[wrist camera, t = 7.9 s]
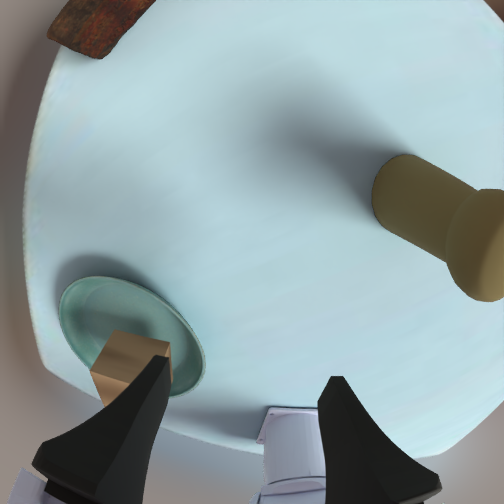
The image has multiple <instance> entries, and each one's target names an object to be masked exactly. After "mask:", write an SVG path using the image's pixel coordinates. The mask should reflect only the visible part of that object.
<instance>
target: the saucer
mask: <svg viewBox="0 0 504 504" xmlns="http://www.w3.org/2000/svg"><path fill="white" fill-rule="evenodd" d="M59 320H60V325H61V328H62V331H63V334H64V336H65V338H66V340H67V342H68V344H69V346H70V347H71V349H72V350H73V352H74V353H75V354H76V356H77V357H78V358H79V359H80V360H81V361H82V362H83V363H84V364H85V366H87V367H88V368H89V369H91V367H92V366H93V364H94V362H95V360H96V359H97V357H98V355H99V354H100V352H101V350H102V349H103V347H104V345H105V344H106V342H107V341H108V339H109V337H110V336H111V334H112V333H113V331H114V329H116V330H120V331H124V332H128V333H132V334H136V335H140V336H144V337H149V338H153V339H158V340H163V341H167V342H170V347H171V362H172V374H173V382H172V386H171V390H170V395H169V398H174V397H179V396H182V395H185V394H187V393H189V392H190V391H192V390H194V389H195V388H196V387H197V386H198V385H199V383H200V382H201V380H202V378H203V376H204V373H205V367H206V363H205V355H204V351H203V349H202V346H201V344H200V342H199V340H198V338H197V336H196V335H195V333H194V331H193V330H192V328H191V327H190V325H189V324H188V323H187V321H186V320H185V319H184V318H183V317H182V316H181V314H180V313H179V312H178V311H177V310H176V309H175V308H174V307H172V306H171V305H170V304H169V303H168V302H167V301H165V300H164V299H163V298H161V297H160V296H158V295H157V294H155V293H153V292H152V291H150V290H148V289H146V288H144V287H142V286H140V285H138V284H135V283H133V282H130V281H127V280H123V279H119V278H114V277H106V276H89V277H84V278H81V279H78V280H76V281H74V282H73V283H71V284H70V285H69V286H68V287H67V288H66V289H65V290H64V292H63V294H62V296H61V299H60V302H59Z"/></svg>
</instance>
